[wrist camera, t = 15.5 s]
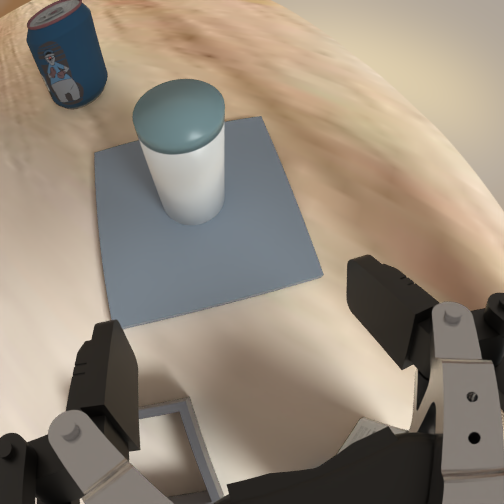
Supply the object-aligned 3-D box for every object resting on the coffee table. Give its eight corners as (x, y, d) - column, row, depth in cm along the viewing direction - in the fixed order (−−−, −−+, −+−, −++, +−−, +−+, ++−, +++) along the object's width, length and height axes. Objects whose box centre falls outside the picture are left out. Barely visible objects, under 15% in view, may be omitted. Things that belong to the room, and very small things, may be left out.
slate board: (260, 121, 29) (261, 116, 28) (320, 277, 24) (323, 274, 24) (97, 157, 26) (94, 152, 26) (116, 330, 22) (113, 329, 21)
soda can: (99, 66, 31) (79, -11, 20) (118, 92, 29) (95, 2, 18) (51, 93, 29) (19, 19, 18) (63, 123, 28) (23, 39, 16)
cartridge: (214, 164, 26) (211, 71, 17) (232, 215, 25) (236, 129, 15) (157, 180, 25) (128, 92, 16) (169, 233, 24) (138, 154, 14)
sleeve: (189, 396, 21) (185, 400, 18) (223, 493, 18) (223, 507, 16) (88, 414, 19) (74, 419, 17) (122, 507, 17) (113, 519, 14)
